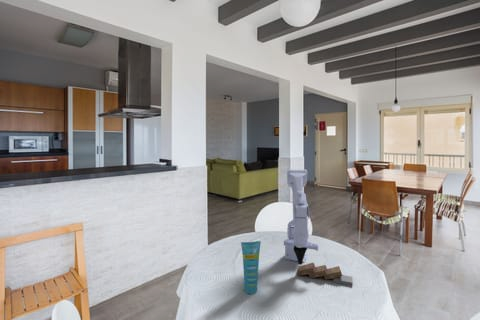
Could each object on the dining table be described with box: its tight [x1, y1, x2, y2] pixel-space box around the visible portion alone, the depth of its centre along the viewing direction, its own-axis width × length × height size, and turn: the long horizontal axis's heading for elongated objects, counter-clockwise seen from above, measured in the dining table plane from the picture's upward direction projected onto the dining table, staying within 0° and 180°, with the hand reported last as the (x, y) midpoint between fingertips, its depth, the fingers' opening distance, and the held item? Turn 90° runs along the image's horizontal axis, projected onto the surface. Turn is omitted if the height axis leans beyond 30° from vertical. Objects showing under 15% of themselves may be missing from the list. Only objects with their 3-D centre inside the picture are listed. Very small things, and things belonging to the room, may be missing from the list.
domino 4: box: [333, 274, 353, 287], centre depth 103 cm, size 2×5×7 cm
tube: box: [240, 240, 261, 295], centre depth 96 cm, size 7×5×19 cm, turn 103°
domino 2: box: [308, 264, 328, 279], centre depth 107 cm, size 2×5×7 cm
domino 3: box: [323, 265, 343, 281], centre depth 106 cm, size 2×5×7 cm
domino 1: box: [296, 262, 316, 277], centre depth 109 cm, size 2×5×7 cm
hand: (300, 263), depth 110 cm, fingers closed
